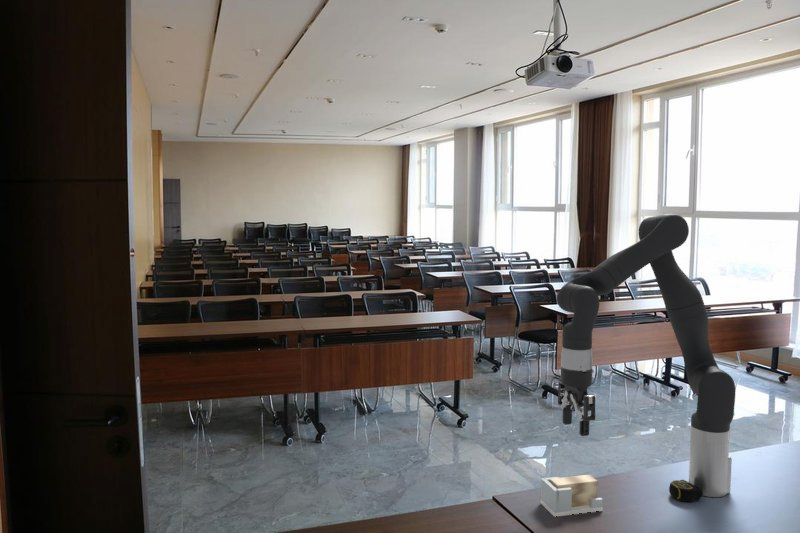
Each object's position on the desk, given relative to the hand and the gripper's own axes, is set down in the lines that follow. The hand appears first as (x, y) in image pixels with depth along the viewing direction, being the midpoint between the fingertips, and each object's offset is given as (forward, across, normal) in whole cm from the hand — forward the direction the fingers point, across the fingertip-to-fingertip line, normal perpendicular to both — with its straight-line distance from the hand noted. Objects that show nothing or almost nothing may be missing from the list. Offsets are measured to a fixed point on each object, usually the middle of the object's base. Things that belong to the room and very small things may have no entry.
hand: (575, 429), depth 158 cm
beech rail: (+19, 0, 0) cm, 19 cm away
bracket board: (+20, 0, -1) cm, 20 cm away
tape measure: (+20, +2, +31) cm, 37 cm away
